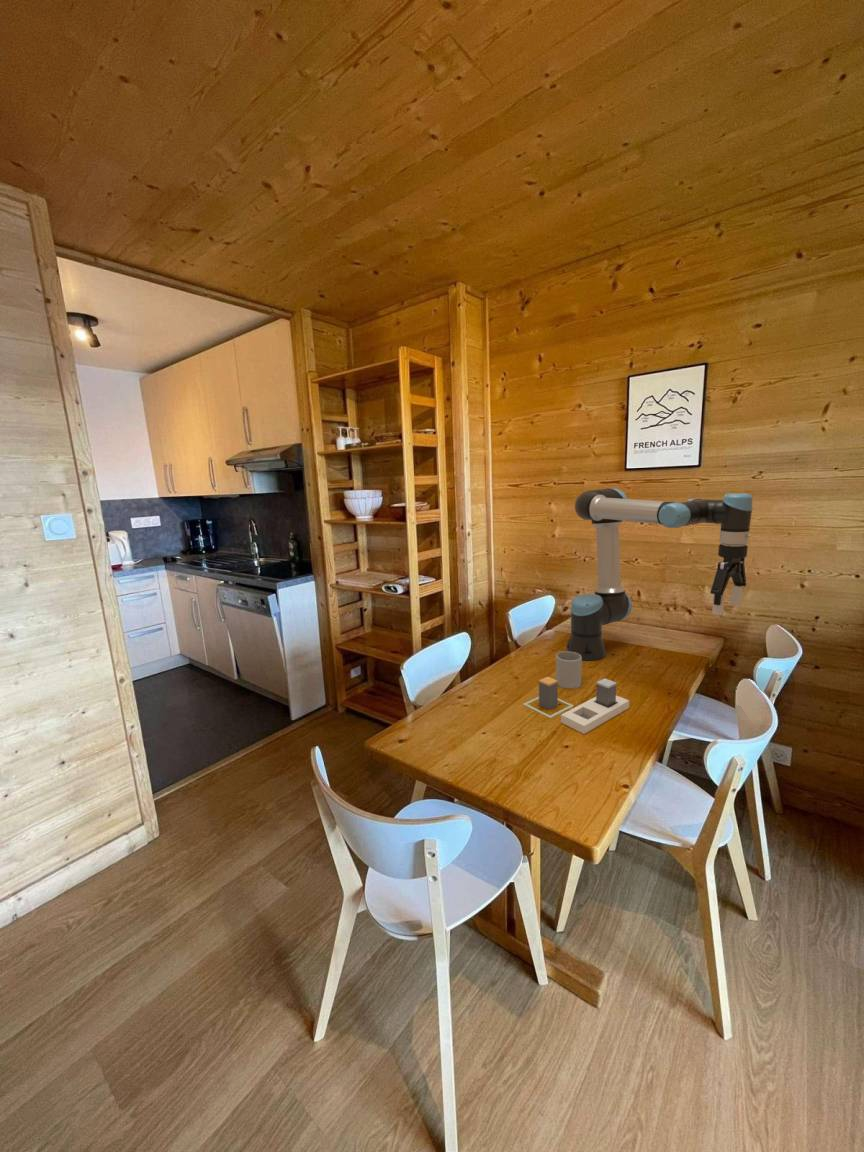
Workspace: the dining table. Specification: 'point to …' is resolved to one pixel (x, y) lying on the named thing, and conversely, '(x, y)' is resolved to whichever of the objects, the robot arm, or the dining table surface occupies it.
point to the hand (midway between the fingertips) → (726, 609)
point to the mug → (568, 669)
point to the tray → (545, 713)
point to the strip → (592, 714)
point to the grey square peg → (606, 693)
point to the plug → (548, 693)
